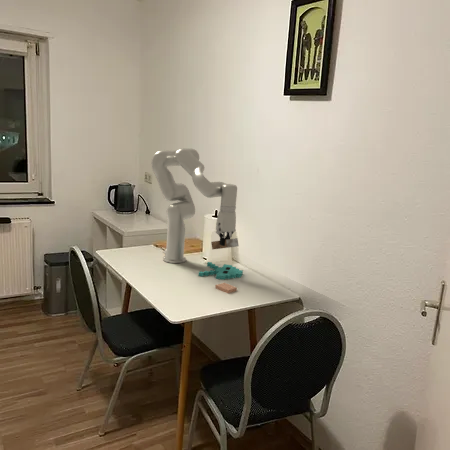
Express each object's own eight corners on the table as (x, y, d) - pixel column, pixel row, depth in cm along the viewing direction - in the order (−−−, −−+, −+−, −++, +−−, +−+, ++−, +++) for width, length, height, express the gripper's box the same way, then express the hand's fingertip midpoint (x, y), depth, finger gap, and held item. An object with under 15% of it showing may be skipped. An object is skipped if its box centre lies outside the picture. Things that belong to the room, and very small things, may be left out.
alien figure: (198, 276, 225) (237, 282, 221) (198, 272, 224) (238, 278, 221) (207, 265, 244) (244, 271, 241) (208, 261, 244) (244, 267, 240)
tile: (215, 285, 209) (228, 290, 204) (224, 282, 214) (237, 287, 208) (215, 289, 210) (227, 294, 204) (224, 286, 214) (236, 291, 209)
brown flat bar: (212, 249, 234) (211, 241, 234) (216, 248, 236) (215, 241, 236) (234, 246, 223) (233, 238, 223) (238, 246, 225) (237, 238, 225)
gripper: (233, 206, 234) (230, 241, 238) (210, 208, 222) (207, 245, 226) (244, 209, 229) (241, 244, 233) (221, 211, 217) (218, 248, 221)
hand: (224, 244), depth 229 cm, fingers closed on brown flat bar, 3 cm apart
